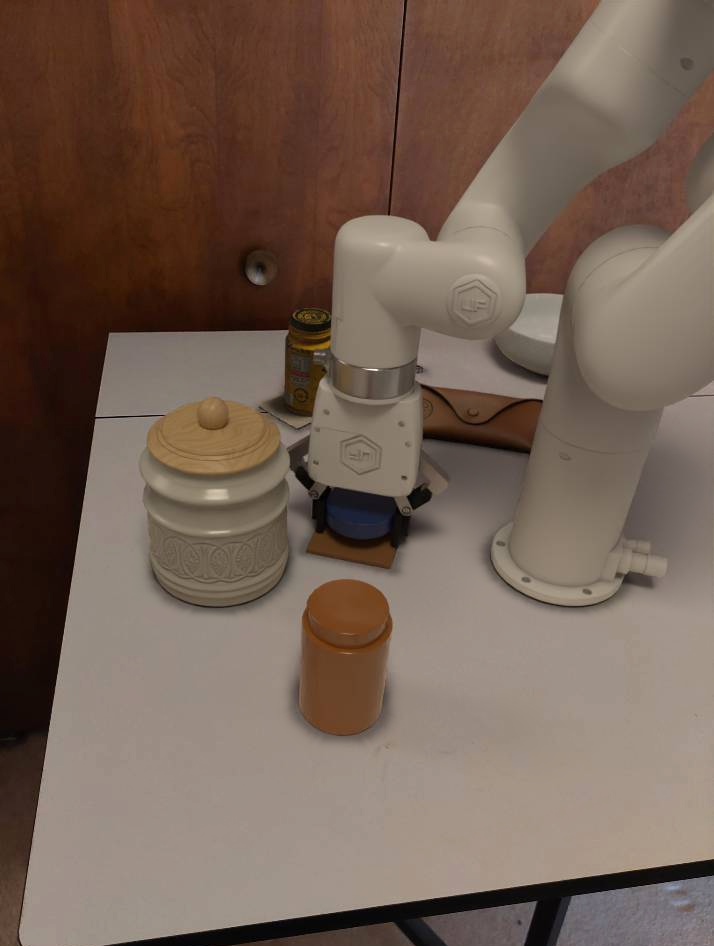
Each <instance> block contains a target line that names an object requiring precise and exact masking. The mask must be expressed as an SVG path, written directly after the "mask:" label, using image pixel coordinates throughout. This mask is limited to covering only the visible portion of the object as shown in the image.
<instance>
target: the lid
mask: <svg viewBox="0 0 714 946" xmlns="http://www.w3.org/2000/svg"><path fill="white" fill-rule="evenodd" d="M396 508H397V503H396V501H395V499H394V497H389V496H383V495H377V494H371V493H365V492H359V491H353V490H348V489H342V488H337V487H332V490H331V491H330V493H329V495H328V497H327V500H326V506H325V517H326V521H327V523H328V525H329V526H330V527H331V528H332V529H333V530H334V531H336V532H337V533H339V534H341V535H344V536H346V537H350V538H355V539H372V538H377V537H380V536H383V535H385V534H387V533H388V532H389V531H391V530H392V529H393V520H394V514H395V511H396Z"/></svg>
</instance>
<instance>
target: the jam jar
mask: <svg viewBox="0 0 714 946" xmlns="http://www.w3.org/2000/svg"><path fill="white" fill-rule="evenodd" d="M391 615H392V614H391V613H390V605H389V602H388V599H387V598H386V596H385V595H384V593H383V592H382V591H380V589H378V588H377V587H375V586H374V585H373V584H370V583H368V582H365V581H362V580H358V579H352V578H351V579H350V578H342V579H334V580H330V581H327V582H325V583H323V584H321V585H319V586H318V587H316V588H315V589H314V590H313V591H312V592H311V593H310V594H309V595H308V598H307V600H306V607H305V608H304V610H303V612H302V616H301V635H300V637H301V638H300V661H299V662H300V664H299V687H298V688H299V691H298V692H299V693H298V704H299V709H300V712H301V714H302V716H303V717H304V719H305V720H306V721H307V722H308V723H309V724H310V725H311V726H312V727H314V728H315V729H317V730H319V731H321V732H324V733H326V734H330V735H335V736H350V735H356V734H359V733H362V732H364V731H366V730H368V729H369V728H370V727H372V726H373V725H374V724H375V723H376V721H377V720H378V719H379V717H380V715H381V713H382V709H383V701H384V693H385V686H386V678H387V672H388V664H389V657H390V650H391V641H392V635H393V628H394V627H393V626H394V625H393V618H392V616H391Z"/></svg>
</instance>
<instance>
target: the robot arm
mask: <svg viewBox="0 0 714 946" xmlns="http://www.w3.org/2000/svg"><path fill="white" fill-rule="evenodd" d="M713 72H714V0H600V2H599V3H598V5H597V6H596V8H595V9H594V11H593V12H592V13H591V14H590V16H589V18H588V19H587V20H586V22H585V23H584V25H583V26H582V28H581V29H580V31H579V32H578V34H577V35H576V36H575V38H574V39H573V41H572V42H571V44H569V46H568V48H567V49H566V51H565V52H564V53H563V54H562V56H561V58H559V61H558V62H557V64H556V65H555V66H554V68H553V69H552V70H551V72H550V73H549V74H548V76H547V77H546V78H545V80H544V81H543V82H542V83H541V85H540V86H539V88H538V89H537V90H536V91H535V93H534V95H533V96H532V97H531V99H530V101H529V103H528V104H527V105H526V107H525V108H524V109H523V111H522V112H521V114H520V115H519V117H518V118H516V121H515V122H514V123H513V124H512V125H511V127H510V129H509V130H508V131H507V132H506V134H505V135H504V136H503V137H502V138H501V140H500V142H499V143H498V144H497V145H496V147H495V149H494V150H493V151H492V153H491V154H490V156H489V157H488V158H487V160H486V161H485V163H484V164H483V165H482V167H481V168H480V170H479V171H478V173H477V174H476V176H475V177H474V179H473V180H472V182H471V183H470V184H469V186H468V187H467V189H466V190H465V192H464V193H463V194H462V196H461V197H460V199H459V200H458V202H457V203H456V205H455V206H454V207H453V209H452V210H451V212H450V214H449V215H448V217H447V219H446V220H445V222H444V223H443V225H442V227H441V229H440V231H439V232H438V235H437V237H436V240H431V239H430V237H429V234H428V233H427V231H426V229H425V228H424V227H422V225H421V224H419V223H418V222H415V221H413V220H411V219H408V218H404V217H401V216H395V215H385V214H373V215H371V214H370V215H363V216H359V217H355V218H352V219H350V220H347V222H345V223H344V224H342V225H341V227H340V228H339V229H338V231H337V234H336V236H335V240H334V248H333V270H332V271H333V273H332V277H333V278H332V295H331V296H332V297H331V298H332V299H331V315H332V319H331V340H330V346H329V347H328V349H326V348H324V349H323V350H322V349H315V352H314V357H313V363H314V364H318V365H321V366H322V367H325V369H326V371H327V374H326V375H325V376H324V377H323V378H322V379H321V381H320V383H319V386H318V390H317V394H316V399H315V404H314V410H313V416H312V422H311V423H310V424H311V425H310V433H309V434H308V435H306V436H304V437H303V438H301V439H299V440H297V441H296V442H294V443H292V444H291V445H289V446H287V447H286V449H287V451H288V453H289V456H290V467H289V470H290V471H291V472H293V473H294V476H295V479H296V480H297V481H298V482H299V483H300V484H301V485H302V486H303V487H304V488H305V490H307V493H308V494H307V495H308V498H310V499H311V520H313V521H315V529H316V532H317V533H322V532H324V530H325V528H326V525H327V521H326V517H325V506H326V500H327V497H328V495H329V493H330V491H331V490H332V489H333V488H335V487H337V488H342V489H348V490H353V491H359V492H365V493H371V494H377V495H383V496H389V497H394V499H395V501H396V503H397V508H396V511H395V514H394V520H393V529H392V538H391V545H393V547H397V549H398V548H399V545H400V542H401V539H402V537H405V538H408V536H409V532H410V528H411V520H412V514H413V512H414V511H416V510H417V509H419V508H420V507H423V506H424V505H425V504H428V503H429V502H430V501H431V500H432V499H433V498H434V497H436V496H438V495H440V494H441V493H442V492H443V491H444V490H446V489H448V487H449V485H450V481H451V475H450V474H449V473H448V472H447V471H446V470H445V469H444V468H443V467H442V466H441V465H440V464H438V462H437V461H436V460H435V459H434V458H433V457H432V456H431V455H430V454H429V453H427V451H425V450H424V449H423V438H424V437H423V401H422V391H421V386H420V384H419V383H420V382H419V381H418V380H416V376H417V369H416V368H418V367H417V365H418V358H419V357H418V356H419V351H420V350H419V349H420V341H421V331H422V329H425V330H428V331H431V332H435V333H438V334H442V335H445V336H448V337H452V338H457V339H461V340H467V341H480V340H487V339H491V338H495V336H497V335H499V334H501V333H503V332H504V331H506V330H507V329H508V328H509V327H510V326H511V325H513V323H514V322H515V321H516V320H517V318H518V317H519V315H520V313H521V311H522V308H523V306H524V302H525V297H526V294H527V271H526V259H527V257H528V255H529V254H530V252H531V251H533V248H534V247H535V246H536V245H537V244H538V242H539V241H540V239H541V238H542V237H543V235H544V234H545V233H546V231H547V230H548V229H550V227H551V226H552V225H553V223H554V221H555V220H556V219H557V218H558V217H559V216H560V215H561V213H562V212H563V211H564V209H565V208H566V207H567V206H569V204H570V203H571V201H573V199H574V198H575V197H576V196H577V195H579V193H580V192H581V191H582V190H583V189H584V188H586V186H588V184H590V183H591V182H592V181H593V180H595V179H596V178H597V177H599V176H600V175H601V174H604V173H605V172H607V171H608V170H610V169H612V168H615V167H617V166H619V165H621V164H624V163H626V162H629V161H631V160H632V159H634V158H636V157H638V156H639V155H641V153H643V152H645V151H647V149H649V148H650V147H651V146H653V144H655V143H656V142H657V141H658V140H659V139H660V137H661V136H662V135H663V134H664V133H665V132H666V130H667V129H668V128H669V127H670V125H671V124H672V122H673V121H675V119H676V118H677V117H678V115H679V114H680V113H681V111H683V109H684V108H685V106H686V105H687V104H688V102H690V100H691V99H692V97H693V96H695V94H696V92H697V91H698V90H699V89H700V88H701V86H702V85H703V84H704V83H705V81H706V80H707V79H708V78H709V76H710V75H712V73H713ZM684 198H685V203H686V208H687V210H688V213H689V215H690V216H689V217H688V218H687V219H686V220H685V221H684V222H683V223H682V225H680V226H679V227H678V228H677V229H676V230H675V231H674V232H673V233H672V232H670V231H668V230H666V229H663V228H661V227H659V226H655V225H651V224H641V223H639V224H637V223H636V224H627V225H624V226H619V227H617V228H614V229H611V230H610V231H608V232H606V233H603V234H602V235H601V236H599V237H598V238H596V239H595V240H593V242H592V243H590V244H589V245H588V246H587V248H586V249H585V250H583V252H582V253H581V255H580V256H578V259H577V260H576V262H575V263H574V265H573V266H572V267H573V268H572V269H571V271H570V272H569V276H568V279H567V281H566V284H565V288H564V290H563V291H564V292H563V294H562V295H563V301H562V306H561V311H560V317H559V323H558V330H557V336H556V342H555V348H554V353H553V358H552V363H551V368H550V373H549V376H548V378H547V383H546V387H545V391H544V396H543V399H542V400H543V404H542V408H541V412H540V415H539V419H538V423H537V427H536V432H535V436H534V440H533V444H532V448H531V452H529V453H530V454H529V456H528V461H527V466H526V470H525V473H524V478H523V483H522V487H521V490H520V494H519V498H518V503H517V508H516V512H515V516H514V520H513V521H511V522H507V523H506V524H505V525H504V526H501V528H499V529H498V531H497V532H496V533H495V535H494V537H493V539H492V543H491V548H490V559H491V561H492V565H493V567H494V568H495V570H496V572H497V573H498V575H499V576H500V577H501V578H502V579H503V580H504V581H505V582H506V583H507V584H509V585H510V586H511V587H513V588H514V589H515V590H517V591H519V592H521V593H522V594H523V595H526V596H528V597H530V598H533V599H535V600H538V601H541V602H544V603H548V604H551V605H552V604H553V605H558V606H566V607H581V606H591V605H595V604H598V603H601V602H604V601H606V600H607V599H610V598H611V597H613V596H614V595H615V594H616V593H617V592H618V591H619V589H620V587H621V586H622V584H623V580H624V578H625V575H627V574H628V573H629V572H634V573H640V574H642V575H646V576H652V577H656V578H662V579H663V578H664V577H665V575H666V573H667V569H668V562H669V561H668V560H669V559H668V557H665V556H661V555H655V554H651V551H652V542H651V541H647V540H642V539H632V538H628V537H627V536H626V534H623V531H622V530H623V528H624V525H625V522H626V519H627V516H628V513H629V510H630V509H631V508H630V507H631V505H632V502H633V499H634V496H635V493H636V490H637V488H638V484H639V481H640V478H641V476H642V474H643V469H644V467H645V464H646V461H647V459H648V457H649V453H650V450H651V447H652V444H653V441H654V439H655V437H656V434H657V431H658V429H659V425H660V422H661V419H662V416H663V413H664V409H665V408H666V407H669V406H672V405H675V404H678V403H679V402H682V401H684V400H685V399H688V398H689V397H691V396H693V395H694V394H696V393H698V392H699V391H701V390H702V389H704V388H706V387H707V386H708V385H710V384H711V383H712V382H714V132H713V133H712V134H711V135H709V137H708V138H707V139H706V140H705V141H704V142H703V143H702V145H701V146H700V147H699V149H698V150H697V152H696V154H695V155H694V157H693V159H692V160H691V162H690V164H689V167H688V169H687V172H686V177H685V182H684ZM305 456H307V461H305V460H306V459H305V458H304V457H305ZM419 472H420V473H421V475H423V476H424V477H426V479H427V480H428V481H427V482H423V483H422V484H420V485H419V486H417V487H415V486H416V483H417V479H418V473H419Z"/></svg>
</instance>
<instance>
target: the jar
mask: <svg viewBox="0 0 714 946" xmlns="http://www.w3.org/2000/svg"><path fill="white" fill-rule="evenodd" d="M281 438H282V436H281V431H280V429H279V426H278V425H277V424H276V422H275V421H273V420H272V418H271V417H269V416H268V415H267V414H264V413H263V412H261V411H259V410H256V409H253V408H252V407H250V406H248V405H246V404H243V403H240V402H237V401H231V400H223V399H222V398H220V397H218V396H209V397H206V398H204V399H202V400H199V401H194V402H190V403H186V404H183V405H181V406H179V407H177V408H175V409H174V410H172V411H170V412H168V413H166V414H164V415H163V416H162V417H160V418H159V419H157V420H156V421H155V422H154V423H153V424H152V425H151V426H150V428H149V430H148V432H147V435H146V447H145V448H144V449H143V451H142V452H141V455H140V458H139V463H138V467H139V473H140V475H141V478H142V479H143V481H144V482H145V485H144V488H143V492H142V502H143V506H144V508H145V511H146V516H147V517H146V518H147V525H148V533H149V549H148V551H149V557H150V564H151V567H152V570H153V571H154V574H155V577H156V579H157V581H158V583H159V584H160V586H161V587H162V588H163V589H164V590H165V591H166V592H168V593H169V594H170V595H172V596H174V597H175V598H177V599H179V600H182V601H184V602H186V603H190V604H194V605H199V606H206V607H227V606H228V607H229V606H236V605H240V604H244V603H247V602H251V601H252V600H255V599H257V598H259V597H261V596H263V595H265V594H266V593H268V592H269V591H271V589H273V588H274V587H275V586H276V585H277V584H278V583H279V581H280V580H281V578H282V576H283V575H284V572H285V569H286V566H287V562H288V559H289V547H290V546H289V537H288V504H289V501H290V493H291V492H290V486H289V482H288V481H287V478H286V477H287V476H288V474H289V470H290V468H289V467H290V456H289V453H288V451H287V449H286V448H287V447H286V445H285V444H284V443H283V442H282V441H281V440H282V439H281Z"/></svg>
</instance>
